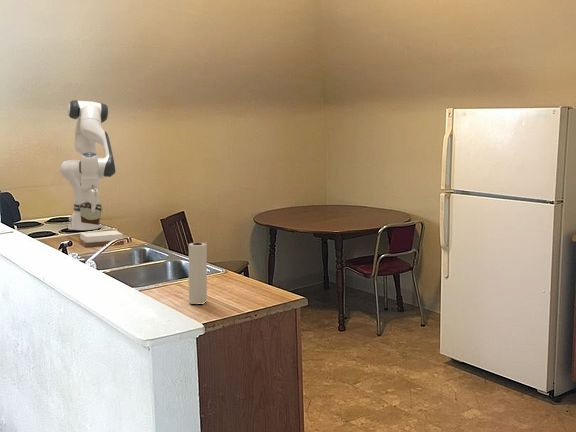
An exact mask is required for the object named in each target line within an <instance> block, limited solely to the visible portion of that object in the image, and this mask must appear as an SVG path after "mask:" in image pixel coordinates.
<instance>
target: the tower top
mask: <svg viewBox="0 0 576 432" xmlns="http://www.w3.org/2000/svg"><path fill="white" fill-rule="evenodd" d="M79 234H80V235H79V236H80V239H82V240H83V241H85V242H86V243H90V242H103V241H112V240H115V239H118V238H121V237H123V238H124V234H123V233H121V232H120V231H117V230H104V231H103V230H102V231H88V232H80V233H79Z"/></svg>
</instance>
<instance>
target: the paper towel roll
mask: <svg viewBox="0 0 576 432" xmlns="http://www.w3.org/2000/svg"><path fill="white" fill-rule="evenodd" d="M207 243H208V242H191V243H188V303H191V304H198V303H203V302H205V301H206V300H207V301H208V299H207V298H208V297H207V296H208V294H207V293H208V284H207V281H208V280H207V279H208V274H207V270H208V267H207V266H208V265H207V263H208V261H207V260H208V257H207V256H208V251H207V250H208V244H207ZM191 304H190V305H191Z"/></svg>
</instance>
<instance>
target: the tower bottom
mask: <svg viewBox="0 0 576 432" xmlns="http://www.w3.org/2000/svg"><path fill="white" fill-rule="evenodd" d="M78 239H79V241H78V242H79V244H80V245H81V246H83V247H84V248H85V249H88V248H97V247H98V248H99V247H105V246H104V245H106V244H108V243H109V242H110V241H103V242H90V243H86V242H85V241H83V240H82V239H81V238H78ZM120 245H121V246H122V245H125V240H124V241H120V242H117V243H115V244H114V245H113V246H120Z"/></svg>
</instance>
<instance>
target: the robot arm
mask: <svg viewBox="0 0 576 432" xmlns="http://www.w3.org/2000/svg"><path fill="white" fill-rule="evenodd" d="M67 114H68V116H69V118H70V119H73V120H77V121H76V125H75V132H74V150H75V151H76V152H77V153H78V154H80V155H81V159H68V160H64V161H62V162H61V164H60V167H59V172H60V175H61V176H62V177H63V178H64V179H65V180H67V182H68V183H69V184H70V185H71V187H72V190H73V194H74V197H73V198H74V204H73V213H72V214H71V215H70V216H68V221H69V222H70V223H68V224H67V229H68V230H75V231H91V230H97V229H100V228H101V229H102V228H103V225H102V224H99V225H94V224H87V223H81V215H80V208H79V205H80V204H81V203H85V202H89V203H90V204H91V212H95V207H96V205H97V204H100V194H99V190H98V189H99V188H100V179H104V178H105V177H106V178H107V177H108V178H110V177H112V176H113V175H115V174H116V172H117V171H116V170H117V164H116V162H115V159H114V155H113V151H112V150H113V149H112V145H111V141H110V137H109V134H108V132H107V131H105V130H104V129H103V127H102V123H104V122H106V121H107V119H108V117H109V115H110V111H109V107H108V105H107V104H105V103H102V102H100V103H99V102H96V101H91V100H89V101H87V100H77V99H75V100H74V99H73V100H71V101H70V102H69V103H68V106H67ZM96 143H97V144H100V145H101V146H102V148H103V152H104V157H100V156H99V155H98V153H97V150H96Z"/></svg>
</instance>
